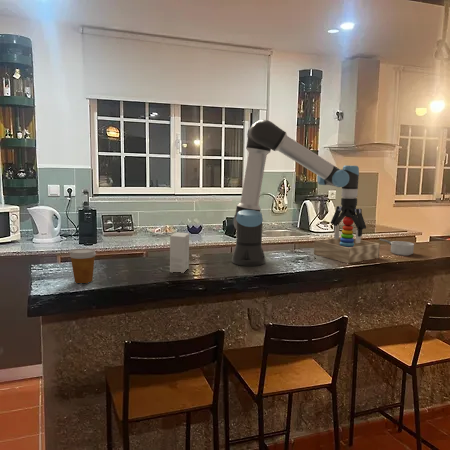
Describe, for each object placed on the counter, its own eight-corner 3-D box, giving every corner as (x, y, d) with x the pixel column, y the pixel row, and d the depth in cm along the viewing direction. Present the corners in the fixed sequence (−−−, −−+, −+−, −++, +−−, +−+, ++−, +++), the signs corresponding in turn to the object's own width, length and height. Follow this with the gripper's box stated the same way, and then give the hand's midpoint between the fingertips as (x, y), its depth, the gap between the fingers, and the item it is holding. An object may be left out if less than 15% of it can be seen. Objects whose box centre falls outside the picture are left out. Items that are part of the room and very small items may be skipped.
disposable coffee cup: (100, 278, 169) (99, 248, 167) (91, 285, 160) (90, 253, 158) (76, 278, 170) (75, 247, 168) (66, 284, 160) (64, 252, 158)
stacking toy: (356, 255, 211) (358, 217, 209) (340, 255, 211) (342, 216, 209) (352, 252, 219) (354, 215, 216) (336, 251, 219) (338, 214, 216)
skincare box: (175, 267, 188) (175, 232, 185) (190, 268, 187) (190, 232, 184) (169, 272, 180) (169, 235, 177) (184, 273, 178) (184, 236, 176)
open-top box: (347, 263, 200) (348, 248, 199) (313, 254, 219) (314, 240, 218) (379, 257, 212) (380, 243, 211) (344, 249, 231) (345, 236, 230)
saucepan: (386, 247, 238) (387, 237, 237) (418, 254, 221) (419, 244, 220) (371, 249, 232) (372, 239, 232) (403, 257, 215) (404, 246, 215)
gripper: (375, 199, 203) (372, 244, 206) (335, 195, 224) (333, 236, 227) (364, 200, 199) (362, 245, 202) (324, 195, 220) (322, 237, 223)
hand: (346, 240), depth 214 cm, fingers open, 13 cm apart
